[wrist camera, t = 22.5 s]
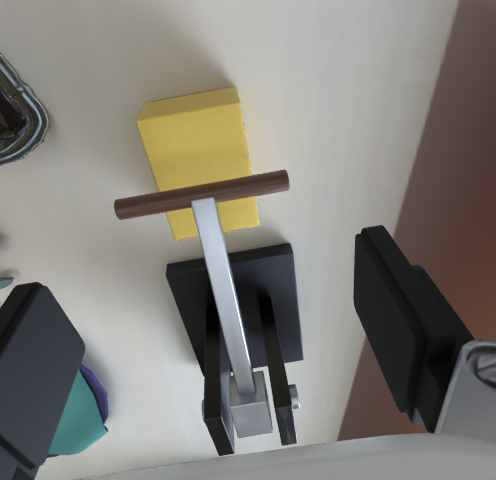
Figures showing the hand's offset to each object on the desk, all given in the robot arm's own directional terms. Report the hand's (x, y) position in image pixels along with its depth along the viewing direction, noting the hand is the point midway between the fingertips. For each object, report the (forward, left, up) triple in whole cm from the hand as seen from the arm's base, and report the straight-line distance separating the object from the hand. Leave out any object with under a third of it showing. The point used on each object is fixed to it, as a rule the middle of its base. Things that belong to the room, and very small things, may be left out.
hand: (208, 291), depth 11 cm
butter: (0, 0, -13) cm, 13 cm away
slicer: (0, +14, -13) cm, 19 cm away
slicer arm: (0, +8, -7) cm, 10 cm away
